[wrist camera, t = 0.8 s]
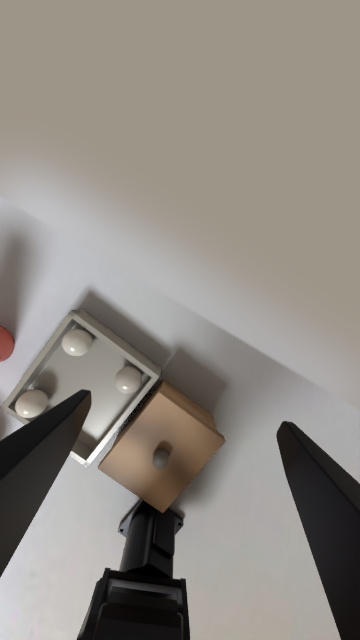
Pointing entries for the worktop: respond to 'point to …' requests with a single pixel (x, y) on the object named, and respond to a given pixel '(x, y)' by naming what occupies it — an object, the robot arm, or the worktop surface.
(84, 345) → the white glossy ball
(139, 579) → the robot arm
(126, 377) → the shiny white sphere
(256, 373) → the worktop surface
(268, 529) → the worktop surface
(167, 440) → the lidded box
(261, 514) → the worktop surface
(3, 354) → the scoop cup
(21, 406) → the pebble
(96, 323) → the tray
